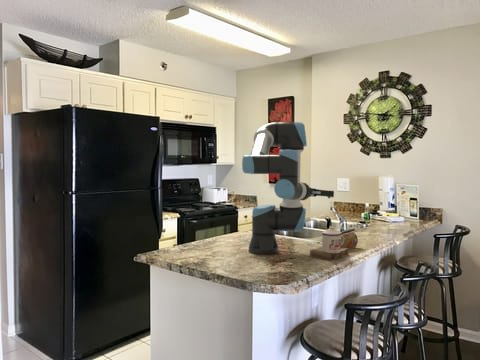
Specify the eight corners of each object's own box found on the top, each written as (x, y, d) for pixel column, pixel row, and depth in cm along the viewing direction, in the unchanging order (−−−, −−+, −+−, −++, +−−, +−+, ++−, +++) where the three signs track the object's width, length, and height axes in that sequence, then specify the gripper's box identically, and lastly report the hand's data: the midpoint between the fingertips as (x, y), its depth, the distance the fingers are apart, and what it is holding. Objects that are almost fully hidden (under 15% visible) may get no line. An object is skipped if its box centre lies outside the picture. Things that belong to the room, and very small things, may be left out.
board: (332, 260, 178) (332, 254, 178) (309, 256, 186) (310, 250, 186) (348, 254, 190) (348, 248, 190) (326, 250, 198) (326, 244, 198)
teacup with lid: (330, 254, 177) (330, 229, 177) (317, 250, 186) (317, 226, 185) (350, 251, 183) (350, 227, 182) (337, 248, 191) (337, 224, 190)
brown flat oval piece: (339, 251, 197) (339, 235, 197) (334, 250, 200) (334, 234, 200) (358, 248, 206) (358, 232, 206) (353, 246, 209) (353, 231, 208)
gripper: (271, 198, 168) (293, 200, 185) (327, 202, 154) (344, 203, 172) (273, 181, 168) (294, 184, 186) (328, 183, 154) (345, 186, 172)
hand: (318, 193), depth 179 cm, fingers open, 13 cm apart
